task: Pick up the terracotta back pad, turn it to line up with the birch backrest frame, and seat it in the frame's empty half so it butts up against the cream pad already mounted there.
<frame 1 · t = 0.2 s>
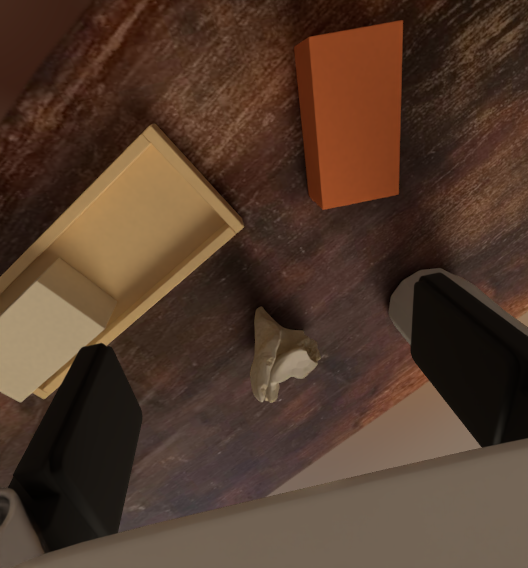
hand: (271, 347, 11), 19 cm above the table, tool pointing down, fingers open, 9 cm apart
bone: (278, 335, 34), on the table
loose pad: (338, 121, 25), on the table
mounted pad: (50, 317, 29), resting on backrest frame
backrest frame: (96, 272, 28), on the table
water bottle: (418, 288, 33), on the table
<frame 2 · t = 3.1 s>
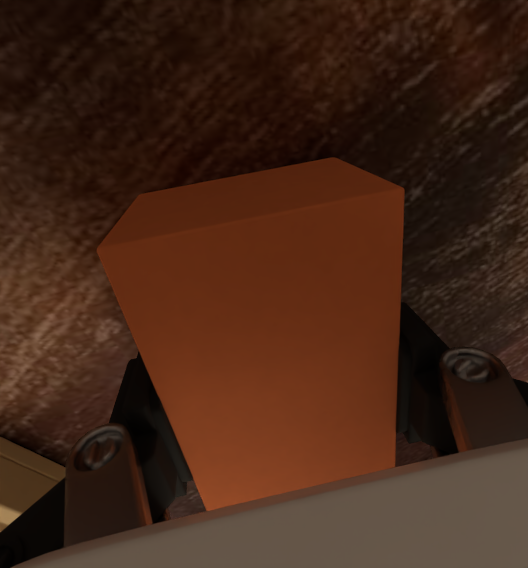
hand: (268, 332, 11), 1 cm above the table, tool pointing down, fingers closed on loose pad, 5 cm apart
loose pad: (266, 323, 12), on the table, touching gripper
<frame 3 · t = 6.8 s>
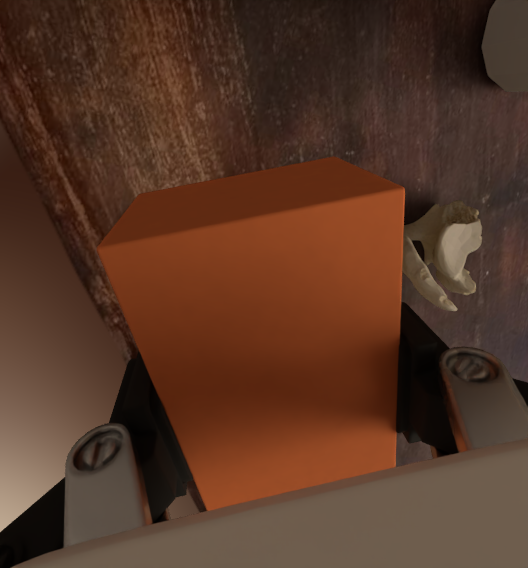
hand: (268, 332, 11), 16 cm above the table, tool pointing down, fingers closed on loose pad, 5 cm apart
bone: (419, 231, 28), on the table
loose pad: (266, 323, 12), point 15 cm above the table, touching gripper
water bottle: (512, 26, 23), on the table
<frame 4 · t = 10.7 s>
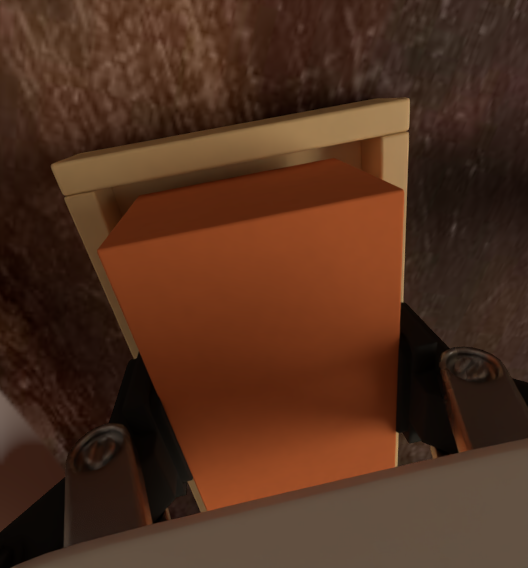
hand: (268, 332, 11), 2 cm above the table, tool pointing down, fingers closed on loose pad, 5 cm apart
loose pad: (266, 323, 12), point 2 cm above the table, touching gripper
backrest frame: (282, 403, 16), on the table
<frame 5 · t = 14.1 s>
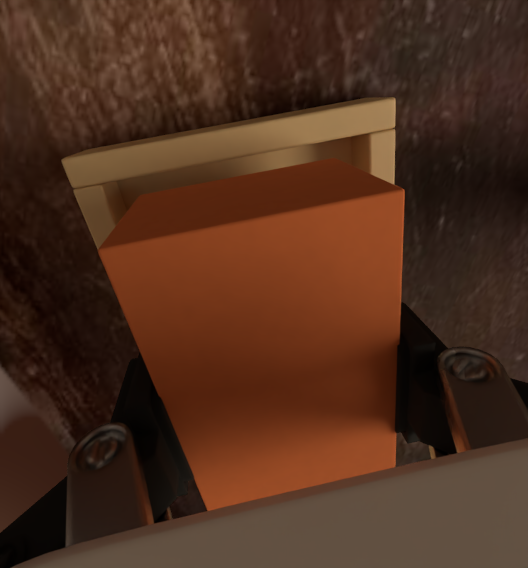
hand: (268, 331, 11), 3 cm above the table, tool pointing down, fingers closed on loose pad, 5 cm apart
loose pad: (266, 323, 12), point 2 cm above the table, touching gripper
backrest frame: (279, 391, 17), on the table
when the fingers open (3 cm above the table, at t = 17.2 s): loose pad drops 2 cm, resting on backrest frame.
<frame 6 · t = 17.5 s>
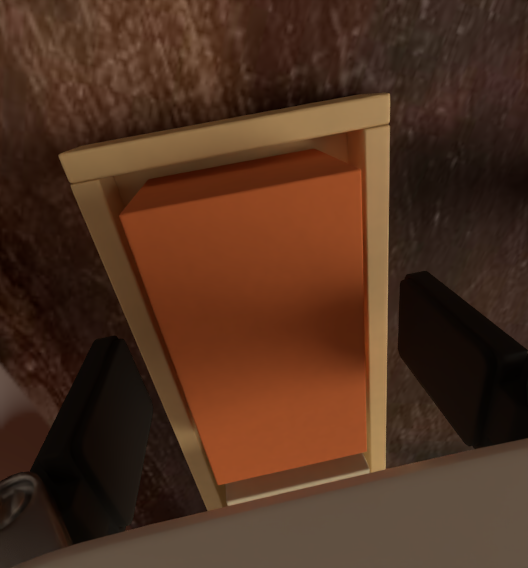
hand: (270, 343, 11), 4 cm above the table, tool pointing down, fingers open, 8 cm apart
loose pad: (257, 295, 14), point 1 cm above the table, touching backrest frame
mounted pad: (292, 468, 19), resting on backrest frame
backrest frame: (276, 386, 17), on the table
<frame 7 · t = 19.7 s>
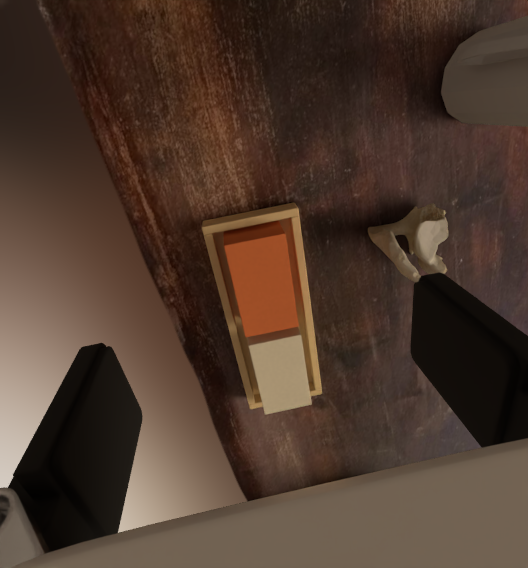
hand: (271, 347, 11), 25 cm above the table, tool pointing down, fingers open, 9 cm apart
bone: (403, 228, 37), on the table
loose pad: (259, 271, 36), point 1 cm above the table, touching backrest frame
mounted pad: (276, 354, 41), resting on backrest frame
backrest frame: (268, 312, 39), on the table
water bottle: (464, 76, 31), on the table
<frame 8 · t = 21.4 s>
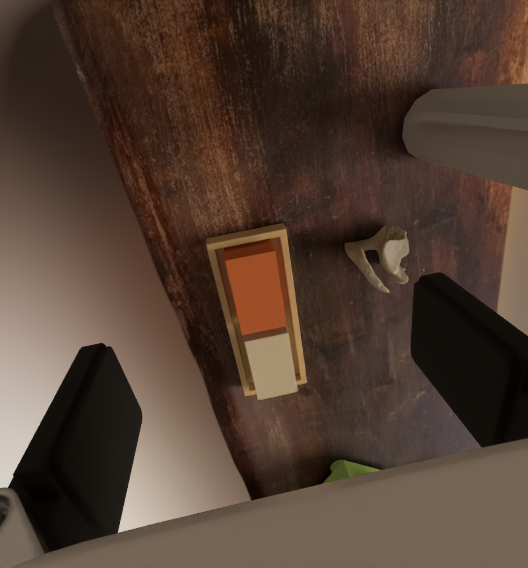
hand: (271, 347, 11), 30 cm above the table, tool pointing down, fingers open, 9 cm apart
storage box: (344, 483, 67), on the table
bone: (374, 243, 44), on the table
loose pad: (253, 279, 43), point 1 cm above the table, touching backrest frame
mounted pad: (267, 349, 48), resting on backrest frame
backrest frame: (261, 314, 46), on the table
water bottle: (421, 123, 38), on the table
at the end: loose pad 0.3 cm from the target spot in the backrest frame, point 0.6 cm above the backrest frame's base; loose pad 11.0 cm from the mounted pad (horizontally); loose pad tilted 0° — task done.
